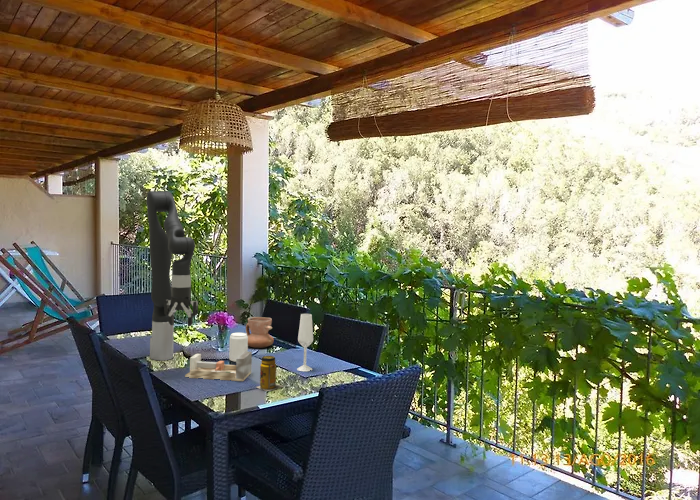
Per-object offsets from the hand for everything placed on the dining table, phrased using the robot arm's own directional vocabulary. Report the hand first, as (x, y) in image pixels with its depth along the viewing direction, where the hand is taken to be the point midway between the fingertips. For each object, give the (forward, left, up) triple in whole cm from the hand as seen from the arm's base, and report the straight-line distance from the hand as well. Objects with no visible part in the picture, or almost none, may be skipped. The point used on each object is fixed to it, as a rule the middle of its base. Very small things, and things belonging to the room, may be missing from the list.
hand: (180, 325), depth 225 cm
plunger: (+10, 0, -18) cm, 21 cm away
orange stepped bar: (+17, -2, -17) cm, 24 cm away
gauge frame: (+16, 0, -20) cm, 26 cm away
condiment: (+40, -11, -20) cm, 46 cm away
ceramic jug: (+19, +52, -20) cm, 59 cm away
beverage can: (+17, +24, -20) cm, 36 cm away
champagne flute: (+49, +16, -20) cm, 56 cm away
